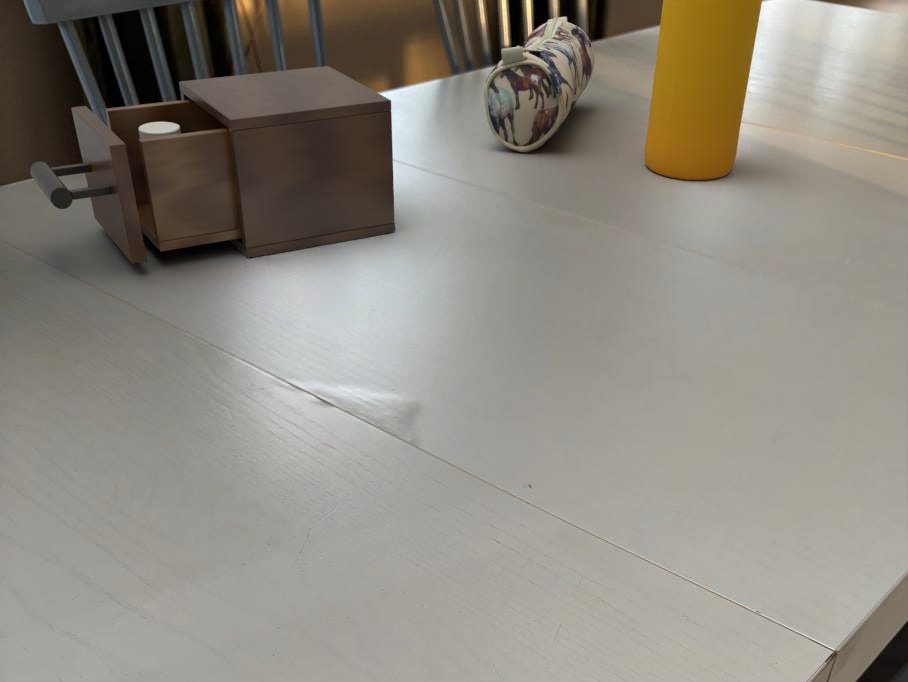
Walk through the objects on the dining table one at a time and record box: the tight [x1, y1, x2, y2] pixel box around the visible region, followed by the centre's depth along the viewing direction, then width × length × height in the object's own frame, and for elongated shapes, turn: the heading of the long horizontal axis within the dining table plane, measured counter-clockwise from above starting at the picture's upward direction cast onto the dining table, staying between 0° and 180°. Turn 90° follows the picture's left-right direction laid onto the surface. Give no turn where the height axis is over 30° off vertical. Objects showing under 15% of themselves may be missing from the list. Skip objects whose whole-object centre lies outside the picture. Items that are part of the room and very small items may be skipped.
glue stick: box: [139, 122, 181, 139], centre depth 85 cm, size 3×3×7 cm
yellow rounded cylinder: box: [643, 0, 763, 181], centre depth 98 cm, size 9×9×29 cm
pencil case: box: [483, 16, 596, 153], centre depth 114 cm, size 22×8×10 cm, turn 166°
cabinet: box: [178, 65, 396, 259], centre depth 90 cm, size 14×13×11 cm
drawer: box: [29, 99, 242, 265], centre depth 85 cm, size 17×11×9 cm, turn 120°
